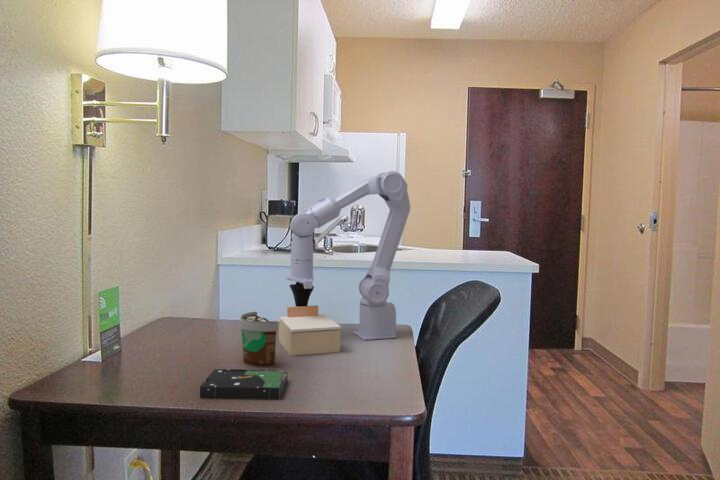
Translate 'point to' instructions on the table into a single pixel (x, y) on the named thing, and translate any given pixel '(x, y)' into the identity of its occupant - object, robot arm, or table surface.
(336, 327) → the lid
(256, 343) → the food container
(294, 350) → the mailer box
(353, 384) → the table surface
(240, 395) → the disk drive
